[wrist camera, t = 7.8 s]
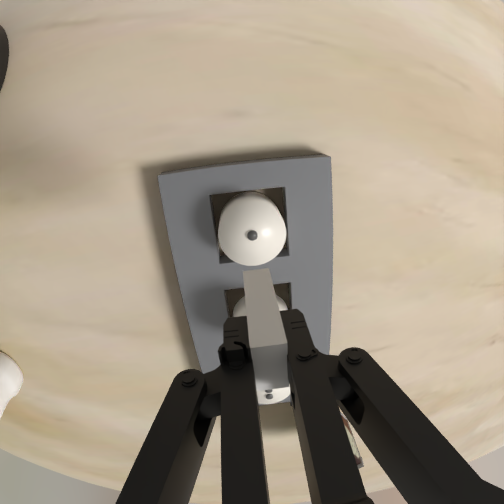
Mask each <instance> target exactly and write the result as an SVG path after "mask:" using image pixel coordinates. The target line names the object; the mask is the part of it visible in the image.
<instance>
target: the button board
mask: <svg viewBox="0 0 504 504" xmlns="http://www.w3.org/2000/svg"><path fill="white" fill-rule="evenodd" d="M158 182H159V188H160V194H161V199H162V205H163V210H164V216H165V221H166V226H167V231H168V236H169V241H170V246H171V250H172V255H173V260H174V264H175V269H176V273H177V278H178V282H179V286H180V290H181V295H182V299H183V303H184V307H185V311H186V315H187V319H188V323H189V327H190V330H191V334H192V338H193V342H194V345H195V349H196V353H197V356H198V360H199V363H200V367H201V370H202V373H203V374H204V373H207V372H210V371H213V370H215V369H216V368H218V367H219V366H220V365H221V364H220V360H219V356H218V349H219V347H220V346H221V345H222V344H223V324H224V323H225V321H226V320H227V318H230V314H229V308H228V302H227V296H226V290H228V289H237V288H244V279H243V271H248V270H257V269H265V268H269V271H270V275H271V279H272V283H273V284H280V283H289V304H290V309H298V310H299V311H300V312H302V313H303V315H304V318H305V320H306V323H307V327H308V329H309V332H310V335H311V338H312V341H313V344H314V346H315V348H317V349H318V350H319V352H321V353H323V354H326V355H329V349H330V333H331V312H332V282H333V203H332V173H331V157H330V156H327V155H325V154H324V155H308V156H294V157H281V158H270V159H259V160H249V161H240V162H232V163H223V164H215V165H208V166H200V167H193V168H187V169H180V170H174V171H167V172H162V173H161V174H159V175H158ZM276 187H282V190H283V203H284V217H285V227H286V248H283V249H282V250H281V251H280V252H279V254H278V255H277V256H276V257H275V258H273V259H272V260H270V261H269V262H267V263H264V264H261V265H257V266H246V265H242V264H239V263H236V262H234V261H233V260H231V259H230V258H229V257H228V256H227V255H222V256H220V252H219V245H218V238H217V232H216V225H215V218H214V211H213V204H212V197H211V195H214V194H222V193H230V192H239V191H248V190H257V189H266V188H276ZM284 402H290V395H289V396H288V397H287V398H285V399H284V400H282V401H280V402H277V403H284ZM273 404H276V403H273ZM258 405H268V404H259V403H258Z"/></svg>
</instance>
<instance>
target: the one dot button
mask: <svg viewBox="0 0 504 504" xmlns="http://www.w3.org/2000/svg"><path fill="white" fill-rule="evenodd" d="M218 239H219V244H220V246H221V248H222V250H223V252H224V253H225V254H226V255H227V256H228V257H229V258H230V259H231V260H233V261H234V262H236V263H239V264H242V265H246V266H257V265H261V264H264V263H267V262H269V261H270V260H272V259H273V258H275V257H276V256H277V255H278V254H279V252H280V251H281V250H282V248H283V246H284V243H285V240H286V227H285V223H284V221H283V219H282V216H281V214H280V212H279V210H278V208H277V206H276V205H275V203H274V202H273V201H272V200H271V199H270V198H268V197H267V196H265V195H263V194H261V193H257V192H243V193H240V194H238V195H235V196H234V197H232V198H231V199H230V200H229V201H228V202H227V203H226V204H225V206H224V207H223V209H222V212H221V215H220V222H219V229H218Z"/></svg>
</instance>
